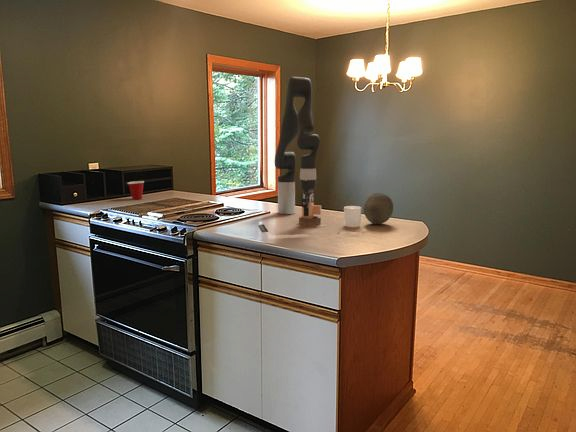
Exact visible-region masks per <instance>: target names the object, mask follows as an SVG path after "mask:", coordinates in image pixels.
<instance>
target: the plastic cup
mask: <svg viewBox="0 0 576 432" xmlns="http://www.w3.org/2000/svg"><path fill="white" fill-rule="evenodd" d="M127 185H128V188H129V191H130V194H131V199H132V200H134V201H136V200H137V201H138V200H139V201H140V200H142V199H143V191H144V185H145V181H144V180H137V181H129V182H127Z"/></svg>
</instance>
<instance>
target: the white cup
mask: <svg viewBox="0 0 576 432" xmlns="http://www.w3.org/2000/svg"><path fill="white" fill-rule="evenodd" d="M343 220H344V221H343V222H344V227H346V228H347V227H348V228H358V227H360V226H361V221H362V207H361V206H359V205H358V206H357V205H346V206H344V207H343Z"/></svg>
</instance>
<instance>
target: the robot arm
mask: <svg viewBox="0 0 576 432" xmlns="http://www.w3.org/2000/svg"><path fill="white" fill-rule="evenodd" d="M312 87H313V85H312V81H311V78H308V77H302V76H301V77H300V76H291V77H289V79H288V82H287V88H286V96H285V97H286V98H285V106H284V111H283V117H282V121H281V127H280V135H279V141H278V145H277V148H276V151H275V155H274V167H275V168H276V169H278V170H287V171H286V172H285V173H283V174H281V175H279V176H278V177H277V214H280V215H292V214H295V213H296V208H295V207H296V199H295V198H296V167H297V165H296V164H297V158H296V156H297V155H296V153H295V152H294V151H286V150H287V148H288V147H289V146H290V144H291V143H292V142H293V141H294V140H295V139H296V138H297V139H296V146H297V148H298V149H299V150H302V151H307V150H310V153H308V154H304V155H302V156H300V170H299V189H301V190H303V192H302V194H301V195H300V196H301V197H300V198H301V208H302V207H303V208H304V216H308V215H309V203H310V202H312V203H315V202H314V199H315V191H314V190H315V189H317V157H318V156H317V155H318V152H319V148H320V145H321V137H320V136H319V134H316V133H312V132H313V131H314V129H315V128H314V127H315V126H314V125H315V124H314V118H313V106H312V105H313V88H312ZM294 98H302V99H303V98H304V102H303V104H302V106H301V108H300V109H299V110H298V111H297V109H296V106H295V104H294ZM305 203H306V205H305Z"/></svg>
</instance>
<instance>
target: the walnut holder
mask: <svg viewBox="0 0 576 432" xmlns="http://www.w3.org/2000/svg"><path fill="white" fill-rule="evenodd" d="M292 223H293V224H294V225H295V226H296V227H297V228H311V227H312V228H313V227H314V228H315V227H318V228H319V227H328V226H329V225H327V224H326V223H325V222H324V221H323V220H322V218H321V217H320V216H319V215H314V219H305V218H302V215H301V216H298V220H297V221H292Z"/></svg>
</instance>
